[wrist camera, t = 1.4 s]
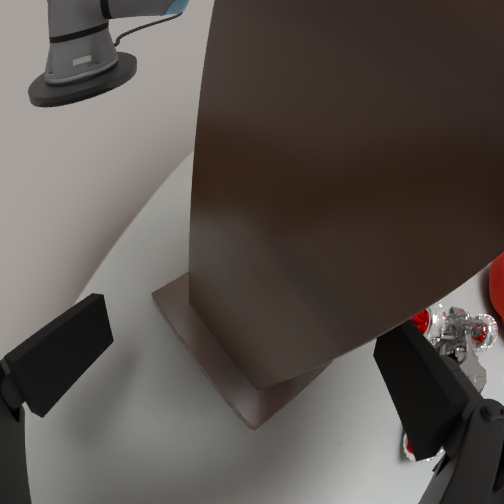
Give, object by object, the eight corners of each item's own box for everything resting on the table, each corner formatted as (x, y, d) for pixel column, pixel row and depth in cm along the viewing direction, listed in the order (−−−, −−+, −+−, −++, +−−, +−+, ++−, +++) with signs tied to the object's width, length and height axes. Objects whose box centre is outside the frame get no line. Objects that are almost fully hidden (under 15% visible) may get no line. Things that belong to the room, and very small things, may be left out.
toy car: (473, 444, 17) (509, 437, 13) (397, 462, 16) (439, 464, 12) (470, 322, 25) (500, 304, 21) (402, 309, 25) (435, 285, 20)
